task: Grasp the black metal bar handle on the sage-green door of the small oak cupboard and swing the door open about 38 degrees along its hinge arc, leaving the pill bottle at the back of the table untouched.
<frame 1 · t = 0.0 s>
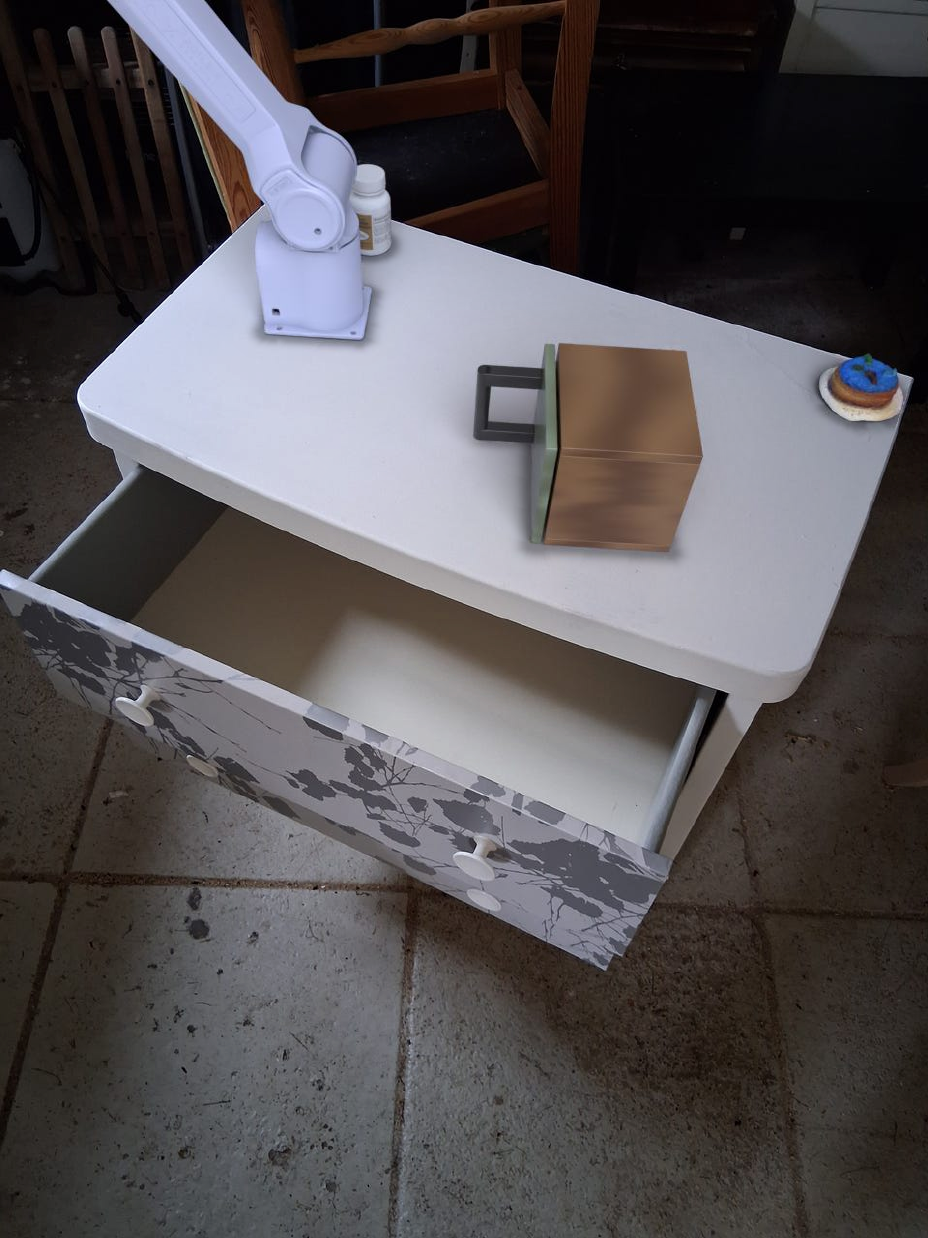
door: (510, 442, 70), point 5 cm above the dresser, hinge at 0.0°
dessert: (856, 421, 83), on the dresser
cupboard: (602, 495, 74), on the dresser
pill bottle: (370, 246, 94), on the dresser
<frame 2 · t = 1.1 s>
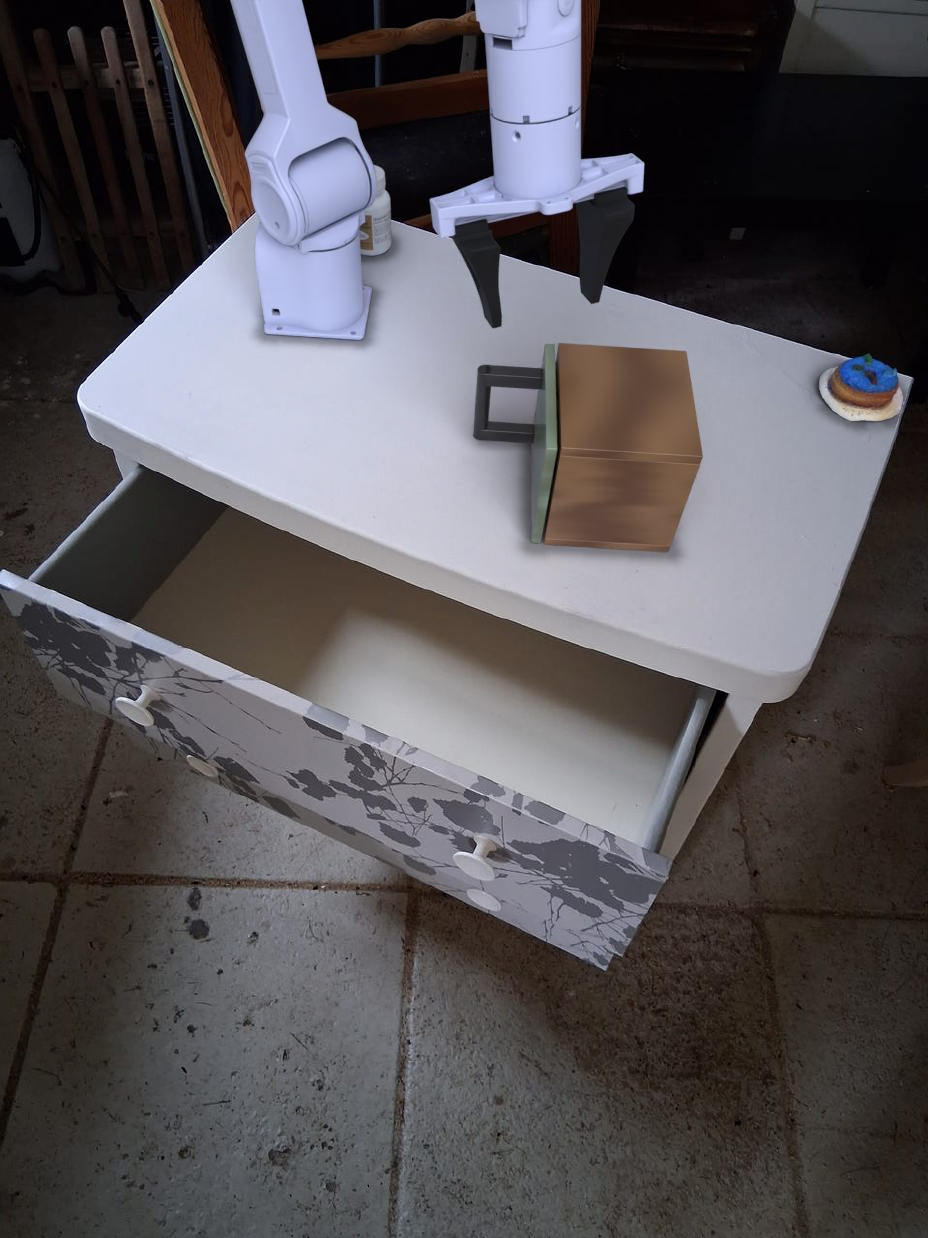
hand: (541, 309, 66), 14 cm above the dresser, tool pointing down, fingers open, 7 cm apart
nothing on the dresser moved.
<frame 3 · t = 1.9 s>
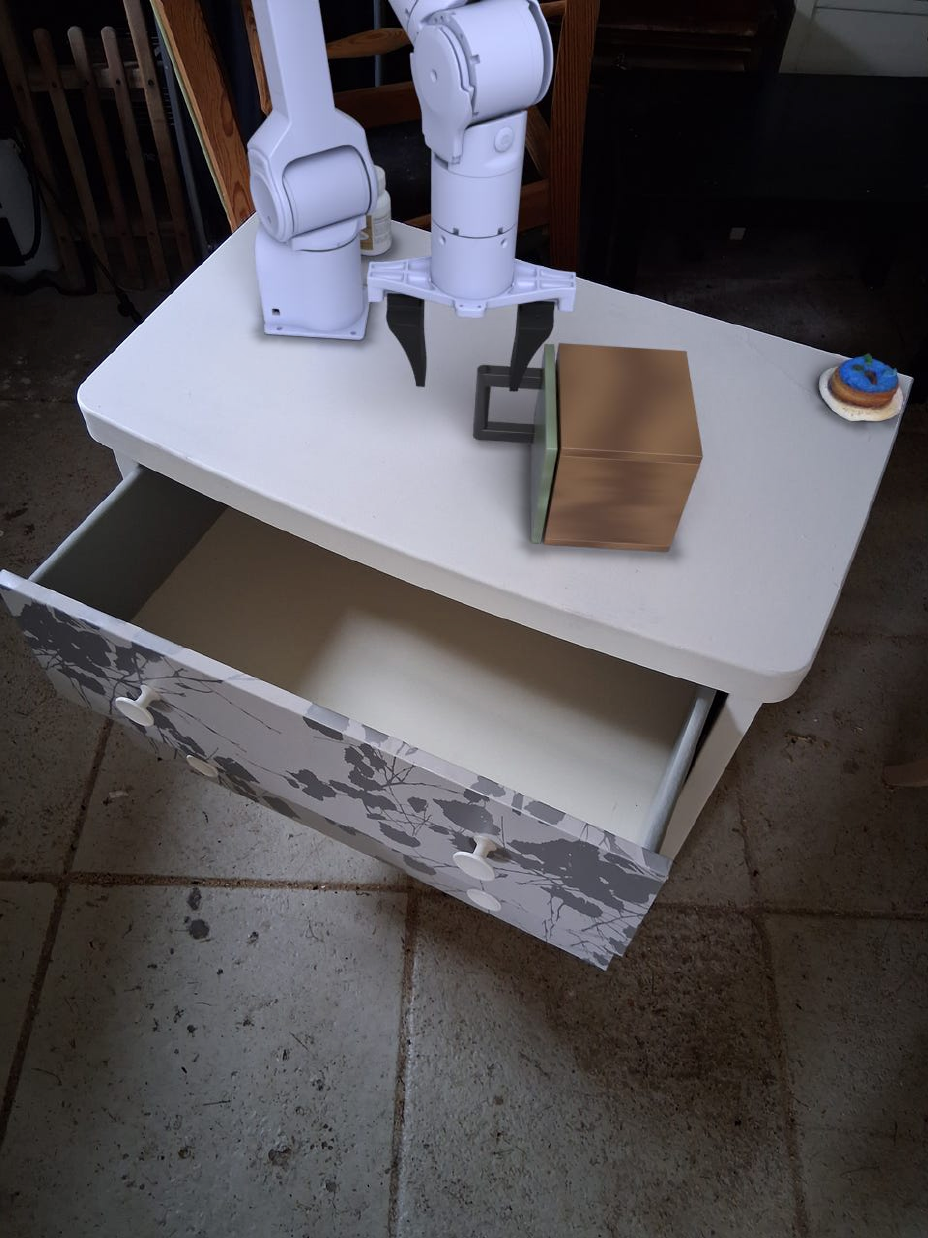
hand: (467, 380, 69), 8 cm above the dresser, tool pointing down, fingers open, 7 cm apart
door: (510, 442, 70), point 5 cm above the dresser, hinge at 0.1°, touching gripper
everything else where it was.
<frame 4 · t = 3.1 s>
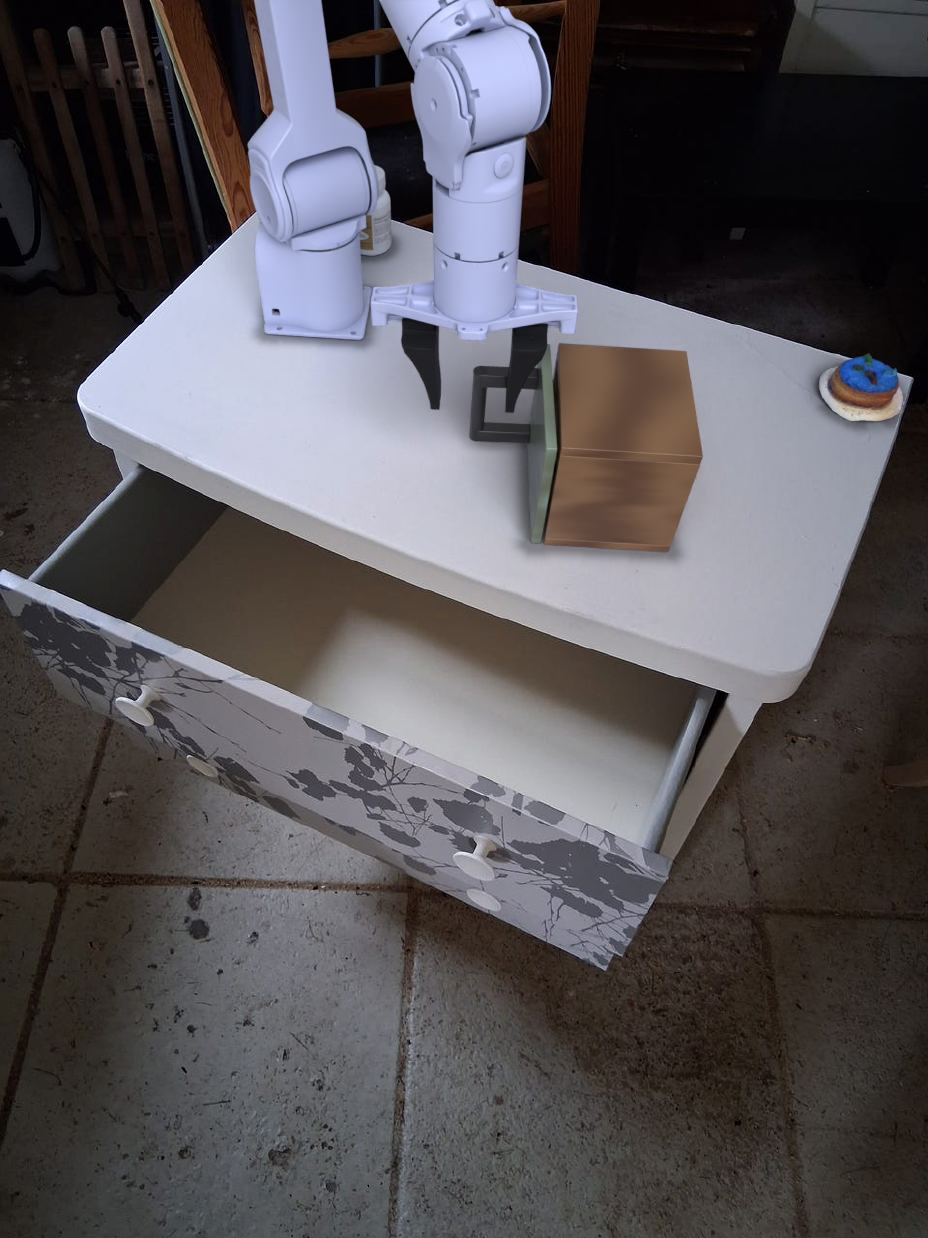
hand: (471, 403, 70), 7 cm above the dresser, tool pointing down, fingers open, 5 cm apart
door: (508, 443, 70), point 5 cm above the dresser, hinge at 1.8°, touching gripper
everything else where it was.
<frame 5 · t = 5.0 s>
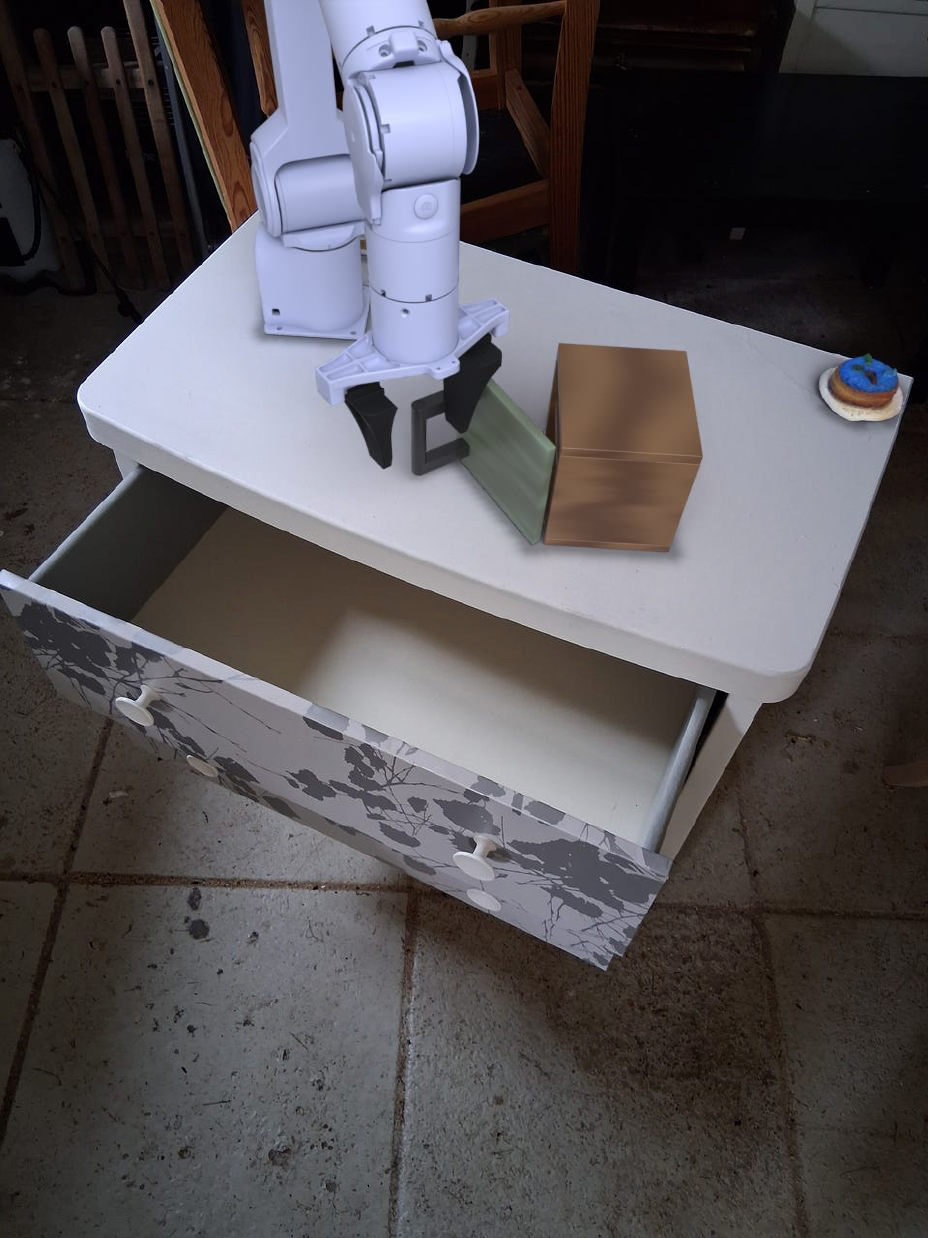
hand: (418, 442, 67), 7 cm above the dresser, tool pointing down, fingers open, 6 cm apart
door: (473, 462, 69), point 5 cm above the dresser, hinge at 34.5°, touching gripper
everything else where it was.
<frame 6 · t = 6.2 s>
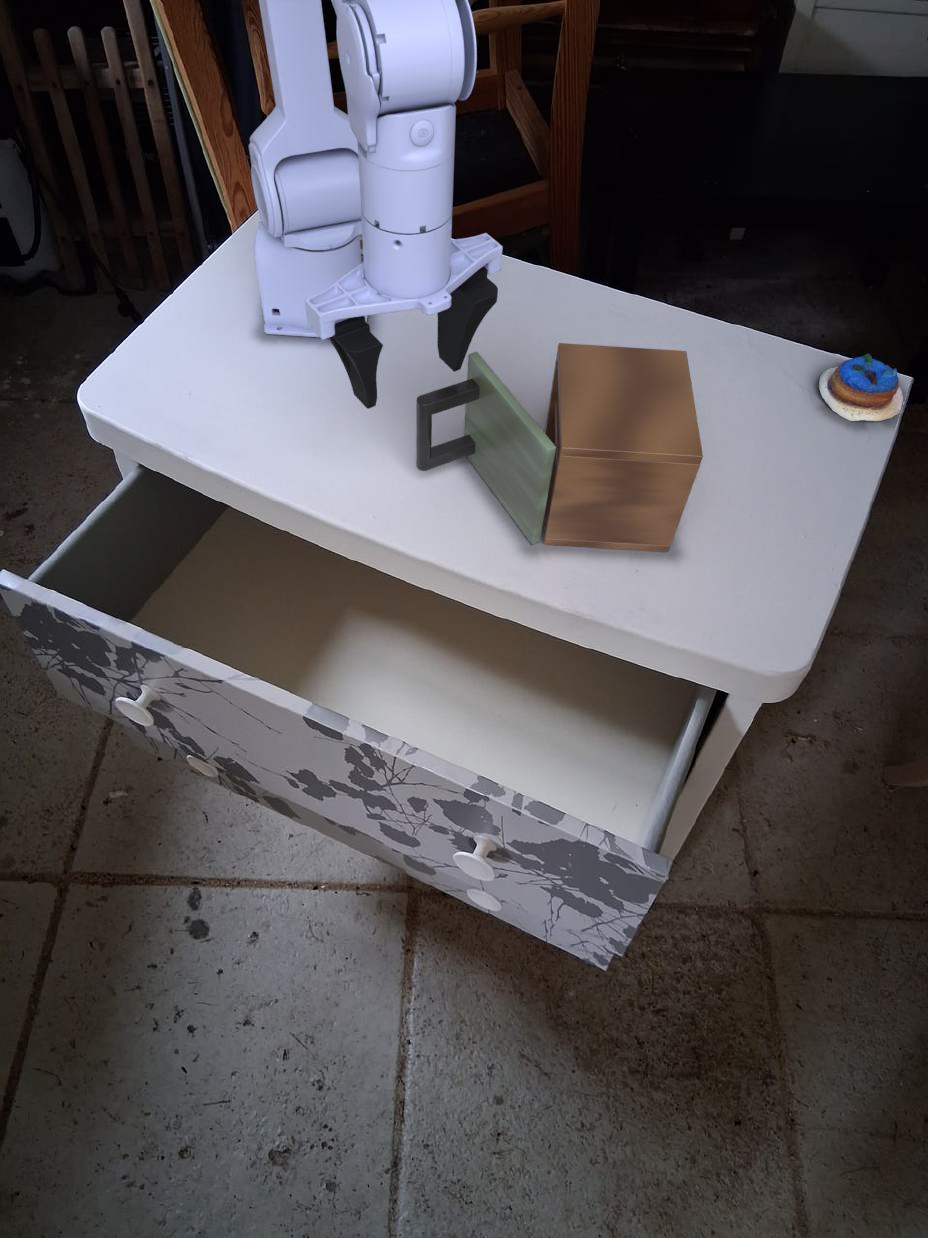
hand: (408, 381, 67), 10 cm above the dresser, tool pointing down, fingers open, 7 cm apart
door: (476, 459, 69), point 5 cm above the dresser, hinge at 30.9°
everything else where it was.
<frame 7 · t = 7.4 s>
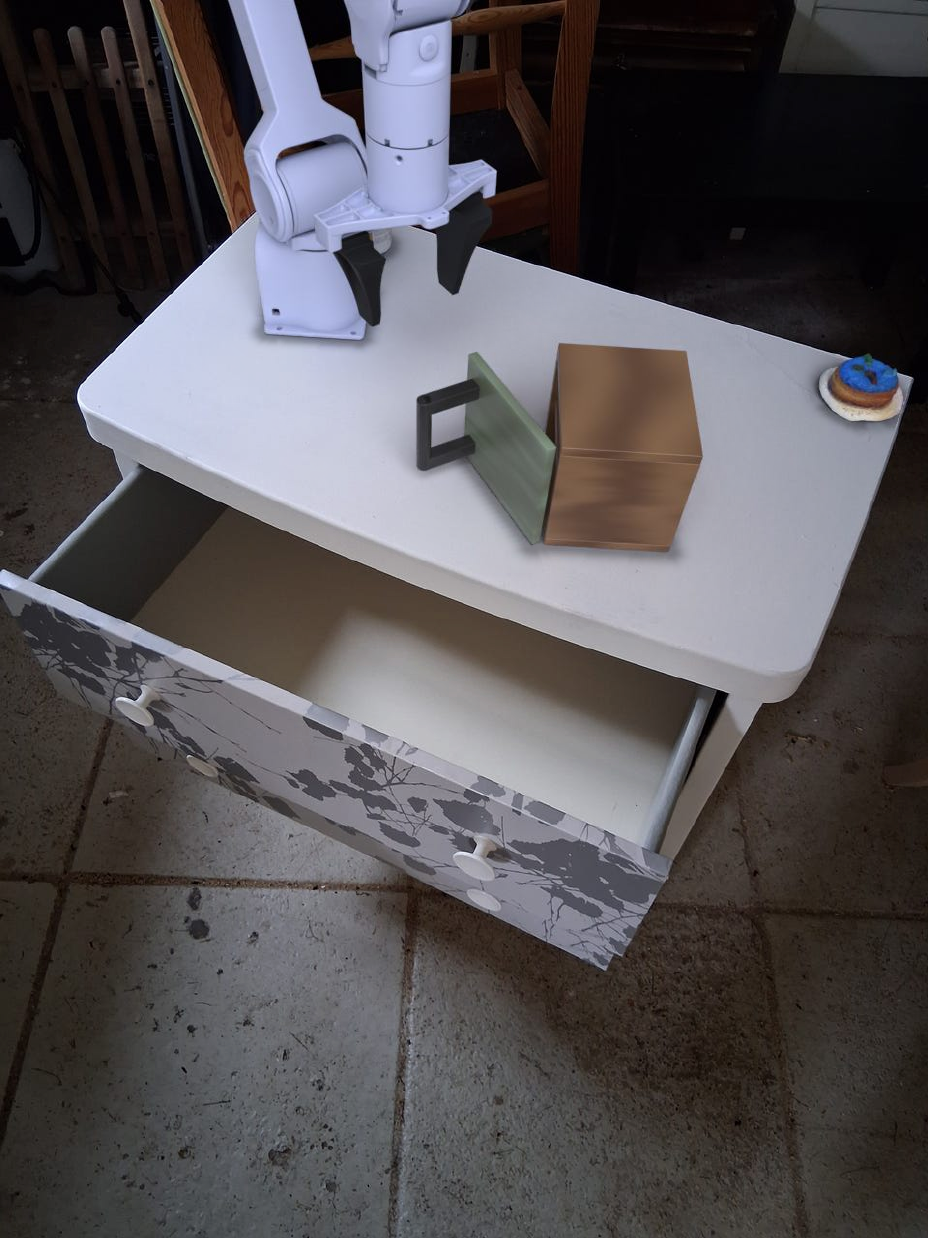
hand: (409, 303, 71), 10 cm above the dresser, tool pointing down, fingers open, 7 cm apart
nothing on the dresser moved.
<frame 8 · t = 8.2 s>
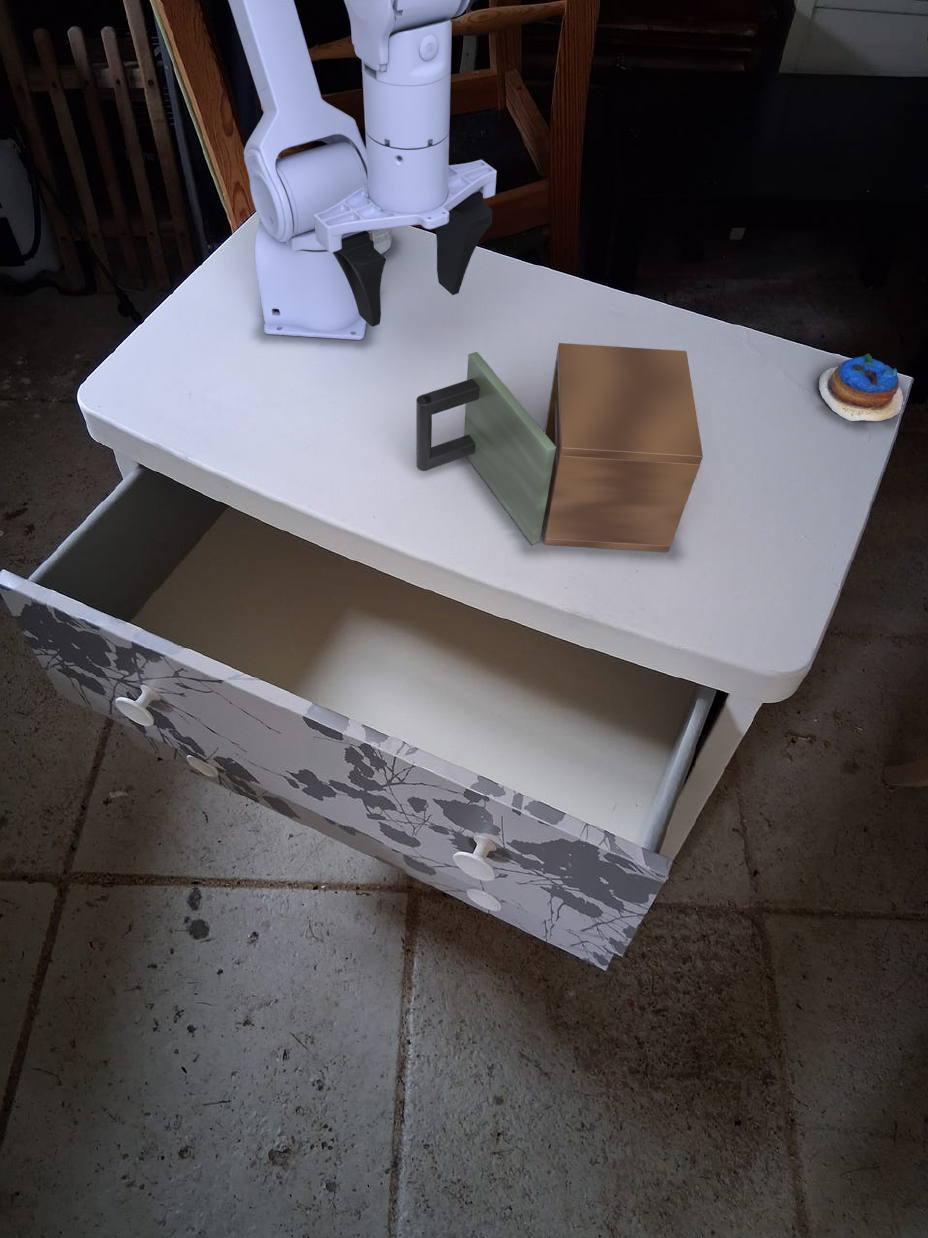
hand: (409, 303, 71), 10 cm above the dresser, tool pointing down, fingers open, 7 cm apart
nothing on the dresser moved.
at the end: door at +31° (first picture: +0°); pill bottle moved 0.2 cm from its start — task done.
